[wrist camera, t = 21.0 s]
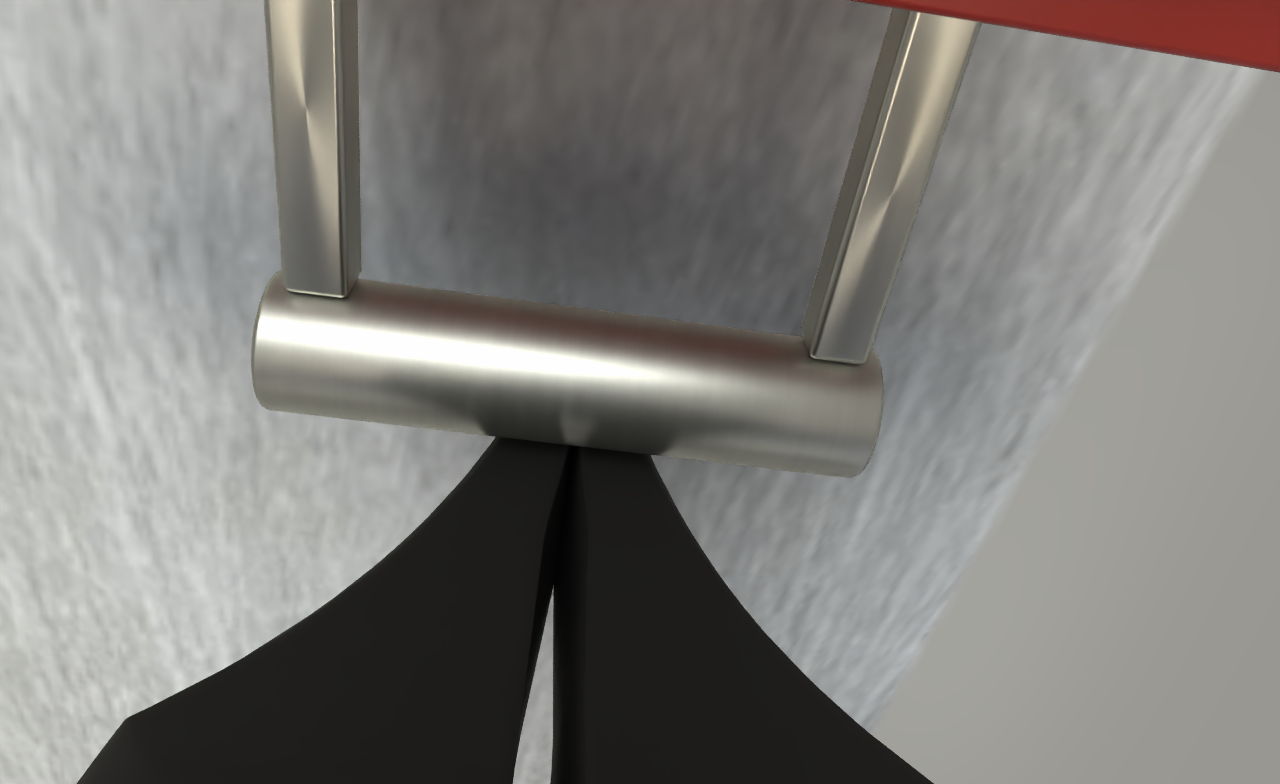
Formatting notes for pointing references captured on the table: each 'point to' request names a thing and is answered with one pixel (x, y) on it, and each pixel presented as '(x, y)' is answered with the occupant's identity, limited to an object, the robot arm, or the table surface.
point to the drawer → (631, 344)
